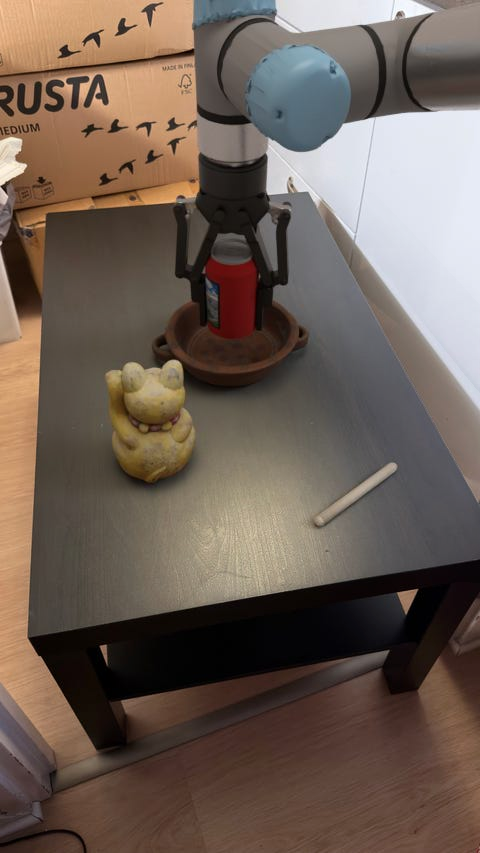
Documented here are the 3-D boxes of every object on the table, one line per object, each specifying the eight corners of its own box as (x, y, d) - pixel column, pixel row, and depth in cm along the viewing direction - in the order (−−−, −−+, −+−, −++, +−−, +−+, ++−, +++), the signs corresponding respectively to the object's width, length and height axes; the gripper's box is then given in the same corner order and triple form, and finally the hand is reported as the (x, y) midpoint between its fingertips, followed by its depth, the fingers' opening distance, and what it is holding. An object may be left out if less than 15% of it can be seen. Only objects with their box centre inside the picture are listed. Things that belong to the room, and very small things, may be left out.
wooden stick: (398, 471, 75) (400, 464, 74) (319, 530, 69) (320, 524, 68) (390, 465, 75) (392, 458, 74) (311, 522, 70) (312, 516, 69)
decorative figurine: (191, 433, 78) (185, 341, 67) (203, 484, 73) (199, 394, 62) (114, 445, 77) (95, 352, 66) (120, 498, 71) (100, 408, 60)
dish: (322, 390, 84) (327, 362, 80) (158, 408, 81) (155, 380, 77) (293, 310, 95) (296, 283, 92) (149, 324, 92) (145, 296, 89)
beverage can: (211, 310, 87) (209, 232, 78) (259, 314, 86) (263, 237, 77) (202, 341, 82) (199, 262, 74) (253, 346, 82) (256, 267, 73)
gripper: (325, 141, 69) (306, 310, 86) (149, 131, 70) (164, 300, 87) (325, 173, 64) (304, 345, 81) (135, 162, 65) (154, 334, 82)
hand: (231, 322), depth 84 cm, fingers closed on beverage can, 7 cm apart
